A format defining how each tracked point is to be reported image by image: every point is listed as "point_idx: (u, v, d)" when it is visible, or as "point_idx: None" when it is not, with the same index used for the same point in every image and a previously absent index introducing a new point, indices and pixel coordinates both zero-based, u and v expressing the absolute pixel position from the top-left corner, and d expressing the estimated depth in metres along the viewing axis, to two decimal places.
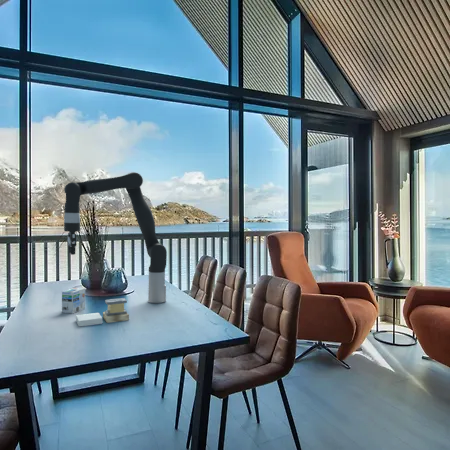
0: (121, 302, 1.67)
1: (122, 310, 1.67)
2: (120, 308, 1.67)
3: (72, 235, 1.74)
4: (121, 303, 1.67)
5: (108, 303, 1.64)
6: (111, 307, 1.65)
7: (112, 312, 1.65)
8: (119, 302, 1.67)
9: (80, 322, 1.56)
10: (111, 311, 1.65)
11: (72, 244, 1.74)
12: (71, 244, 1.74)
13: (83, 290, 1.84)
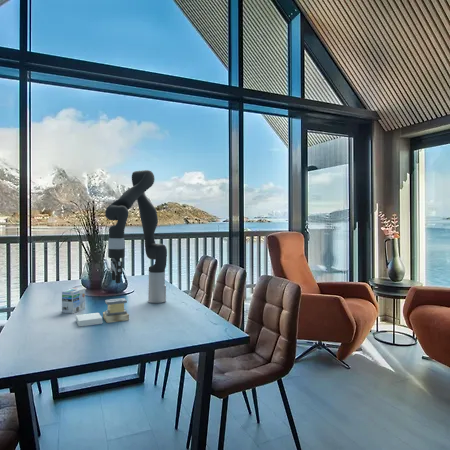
0: (121, 302, 1.67)
1: (122, 310, 1.67)
2: (120, 308, 1.67)
3: (118, 263, 1.62)
4: (121, 303, 1.67)
5: (108, 303, 1.64)
6: (111, 307, 1.65)
7: (112, 312, 1.65)
8: (119, 302, 1.67)
9: (80, 322, 1.56)
10: (111, 311, 1.65)
11: (118, 272, 1.62)
12: (117, 272, 1.61)
13: (83, 290, 1.84)
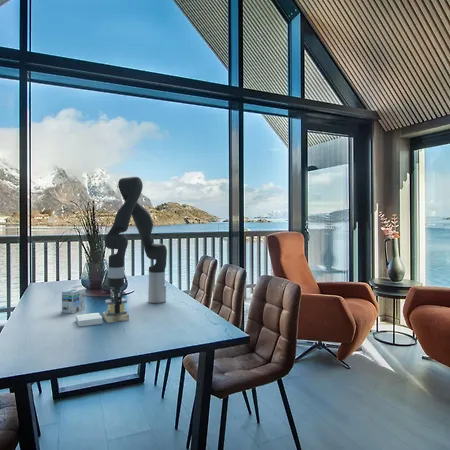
0: (121, 302, 1.67)
1: (122, 310, 1.67)
2: (120, 308, 1.67)
3: (118, 294, 1.62)
4: None
5: (108, 303, 1.64)
6: (111, 307, 1.65)
7: (112, 312, 1.65)
8: None
9: (80, 322, 1.56)
10: (111, 311, 1.65)
11: (117, 303, 1.63)
12: (116, 303, 1.63)
13: (83, 290, 1.84)
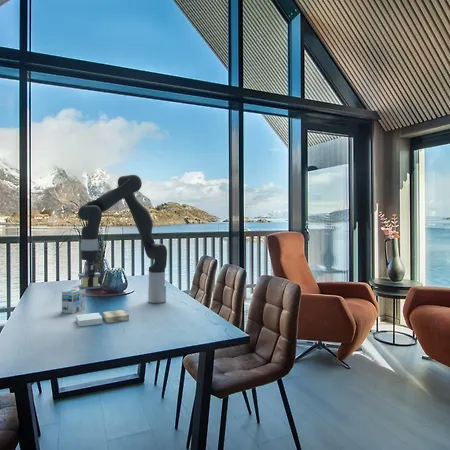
0: (95, 276, 1.61)
1: (96, 284, 1.61)
2: (94, 282, 1.61)
3: (90, 267, 1.56)
4: (95, 277, 1.61)
5: (81, 276, 1.58)
6: (84, 280, 1.59)
7: (85, 286, 1.59)
8: None
9: (80, 322, 1.56)
10: (84, 285, 1.59)
11: (90, 276, 1.57)
12: (89, 276, 1.57)
13: (83, 290, 1.84)
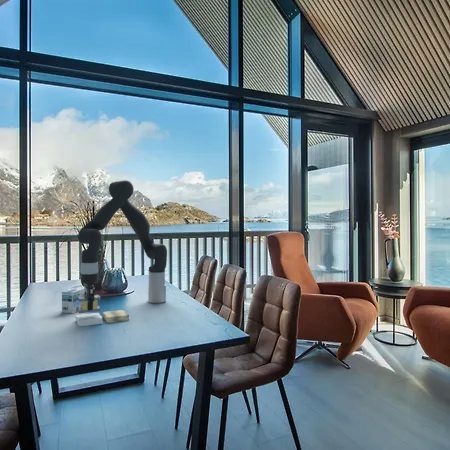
0: (94, 299, 1.61)
1: (95, 307, 1.61)
2: (93, 305, 1.61)
3: (90, 291, 1.56)
4: (94, 300, 1.61)
5: (80, 300, 1.58)
6: (84, 304, 1.59)
7: (85, 309, 1.59)
8: None
9: (80, 322, 1.56)
10: (84, 308, 1.59)
11: (90, 300, 1.57)
12: (88, 300, 1.57)
13: (83, 290, 1.84)
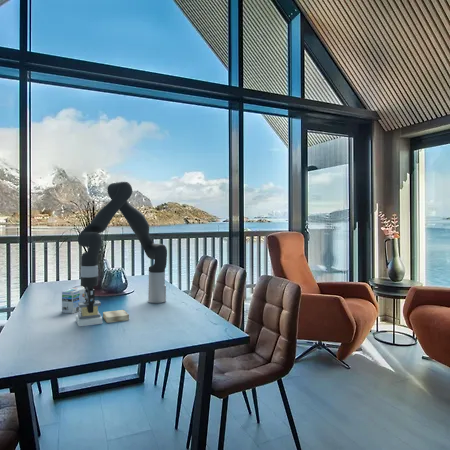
0: (94, 305, 1.61)
1: (96, 313, 1.62)
2: (94, 311, 1.61)
3: (90, 292, 1.56)
4: (94, 306, 1.61)
5: (81, 306, 1.58)
6: (84, 310, 1.59)
7: (85, 315, 1.59)
8: None
9: (80, 322, 1.56)
10: (84, 314, 1.59)
11: (90, 302, 1.56)
12: (89, 302, 1.56)
13: (83, 290, 1.84)
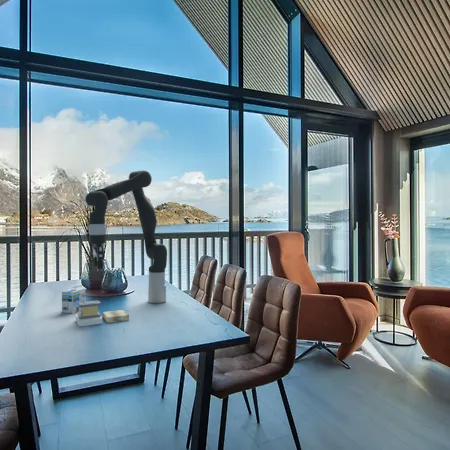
0: (94, 305, 1.61)
1: (96, 313, 1.62)
2: (94, 311, 1.61)
3: (99, 248, 1.63)
4: (94, 306, 1.61)
5: (81, 306, 1.58)
6: (84, 310, 1.59)
7: (85, 315, 1.59)
8: (92, 305, 1.61)
9: (80, 322, 1.56)
10: (84, 314, 1.59)
11: (99, 258, 1.63)
12: (98, 258, 1.63)
13: (83, 290, 1.84)
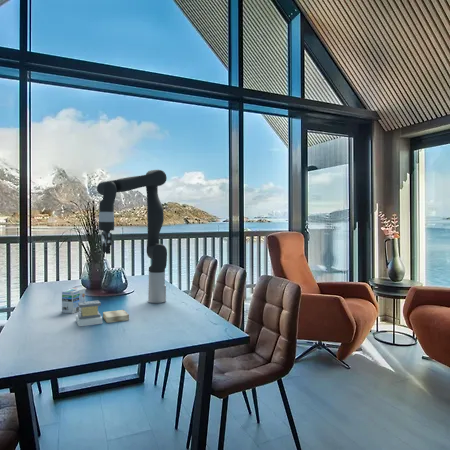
0: (94, 305, 1.61)
1: (96, 313, 1.62)
2: (94, 311, 1.61)
3: (108, 234, 1.73)
4: (94, 306, 1.61)
5: (81, 306, 1.58)
6: (84, 310, 1.59)
7: (85, 315, 1.59)
8: (92, 305, 1.61)
9: (80, 322, 1.56)
10: (84, 314, 1.59)
11: (108, 243, 1.73)
12: (107, 243, 1.72)
13: (83, 290, 1.84)
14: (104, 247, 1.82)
